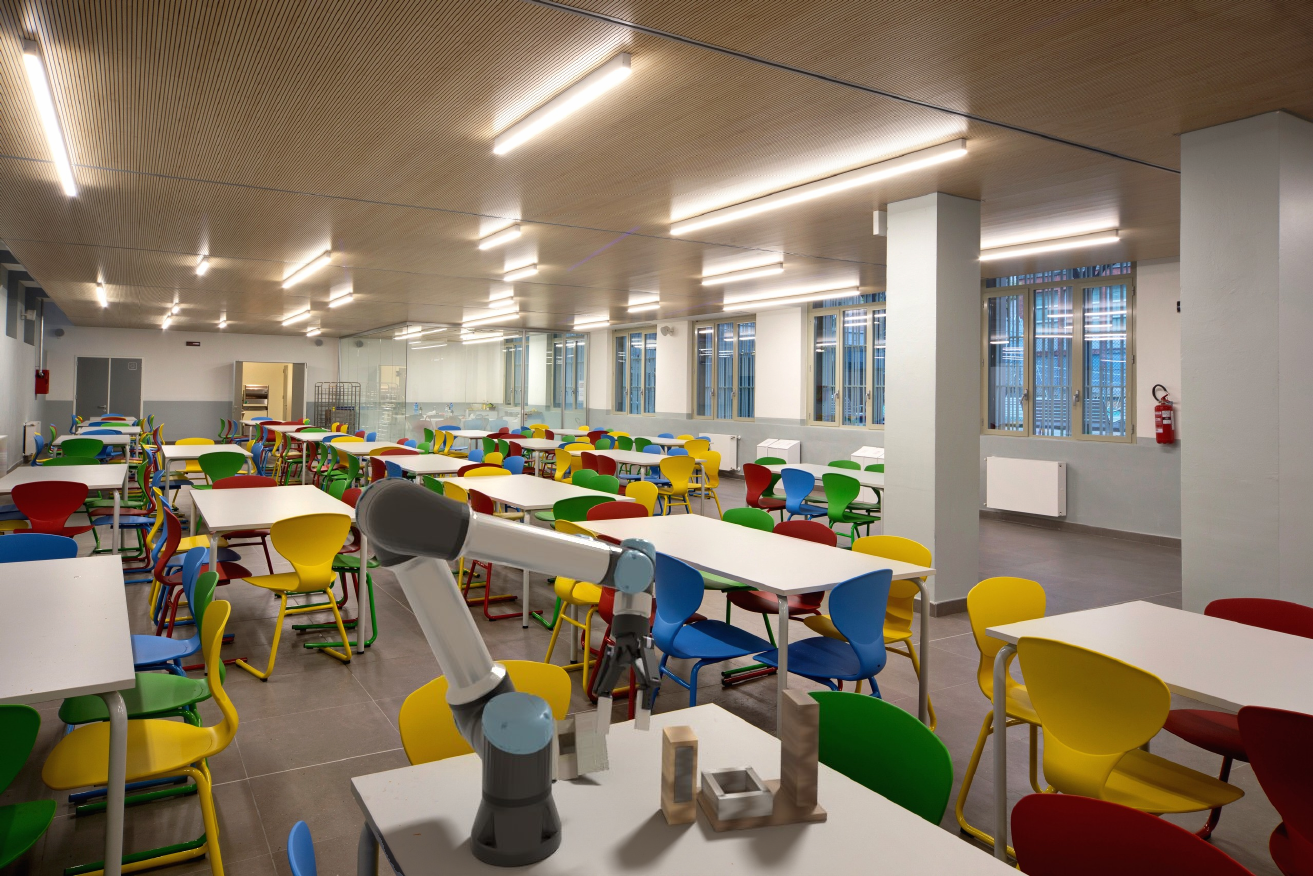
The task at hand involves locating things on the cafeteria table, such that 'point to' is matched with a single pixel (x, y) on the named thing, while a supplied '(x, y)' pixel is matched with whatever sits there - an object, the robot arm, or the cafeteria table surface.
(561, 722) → the wall
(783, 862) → the cafeteria table surface
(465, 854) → the cafeteria table surface
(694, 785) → the block
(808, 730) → the wooden peg insertion stand
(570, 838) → the cafeteria table surface
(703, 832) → the cafeteria table surface
